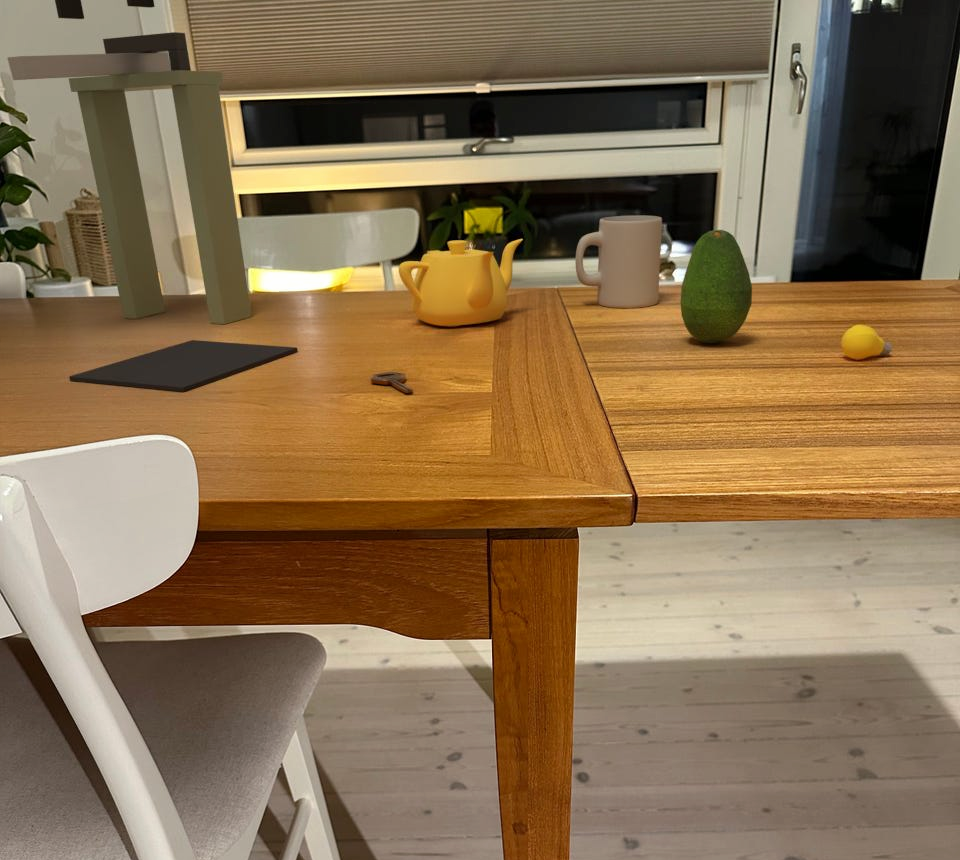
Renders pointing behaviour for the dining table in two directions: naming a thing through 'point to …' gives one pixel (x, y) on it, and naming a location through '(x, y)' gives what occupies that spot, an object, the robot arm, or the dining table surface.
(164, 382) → the mat
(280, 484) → the dining table surface
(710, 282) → the fruit
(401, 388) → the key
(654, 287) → the mug
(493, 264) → the teapot
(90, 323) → the dining table surface
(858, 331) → the light bulb
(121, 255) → the stand
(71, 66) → the bar
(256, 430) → the dining table surface
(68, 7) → the robot arm
